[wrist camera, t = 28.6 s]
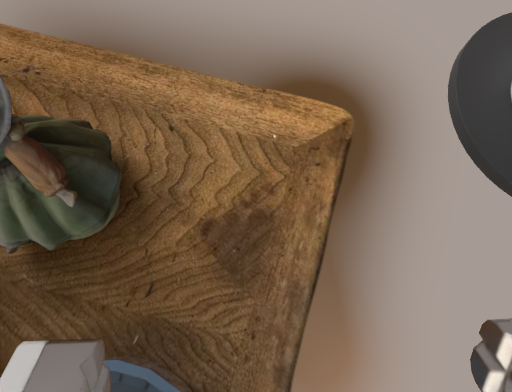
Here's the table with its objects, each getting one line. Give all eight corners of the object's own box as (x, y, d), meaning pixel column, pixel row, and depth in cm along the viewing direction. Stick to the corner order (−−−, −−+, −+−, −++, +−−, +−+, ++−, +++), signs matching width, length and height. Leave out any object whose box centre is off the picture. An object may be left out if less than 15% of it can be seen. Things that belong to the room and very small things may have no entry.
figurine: (-57, 217, 40) (-308, 115, 21) (34, 102, 44) (-107, -69, 25) (75, 289, 39) (-66, 249, 20) (155, 164, 43) (101, 34, 24)
